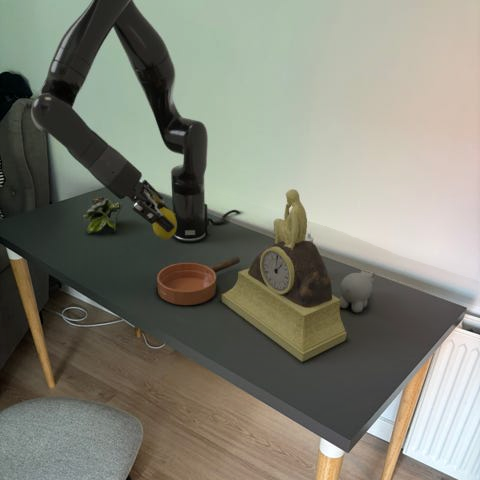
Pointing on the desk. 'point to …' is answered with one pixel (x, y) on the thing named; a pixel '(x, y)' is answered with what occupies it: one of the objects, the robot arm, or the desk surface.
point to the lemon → (159, 230)
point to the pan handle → (225, 264)
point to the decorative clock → (290, 290)
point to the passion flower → (101, 214)
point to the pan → (186, 283)
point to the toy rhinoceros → (356, 290)
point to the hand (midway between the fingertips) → (172, 223)
